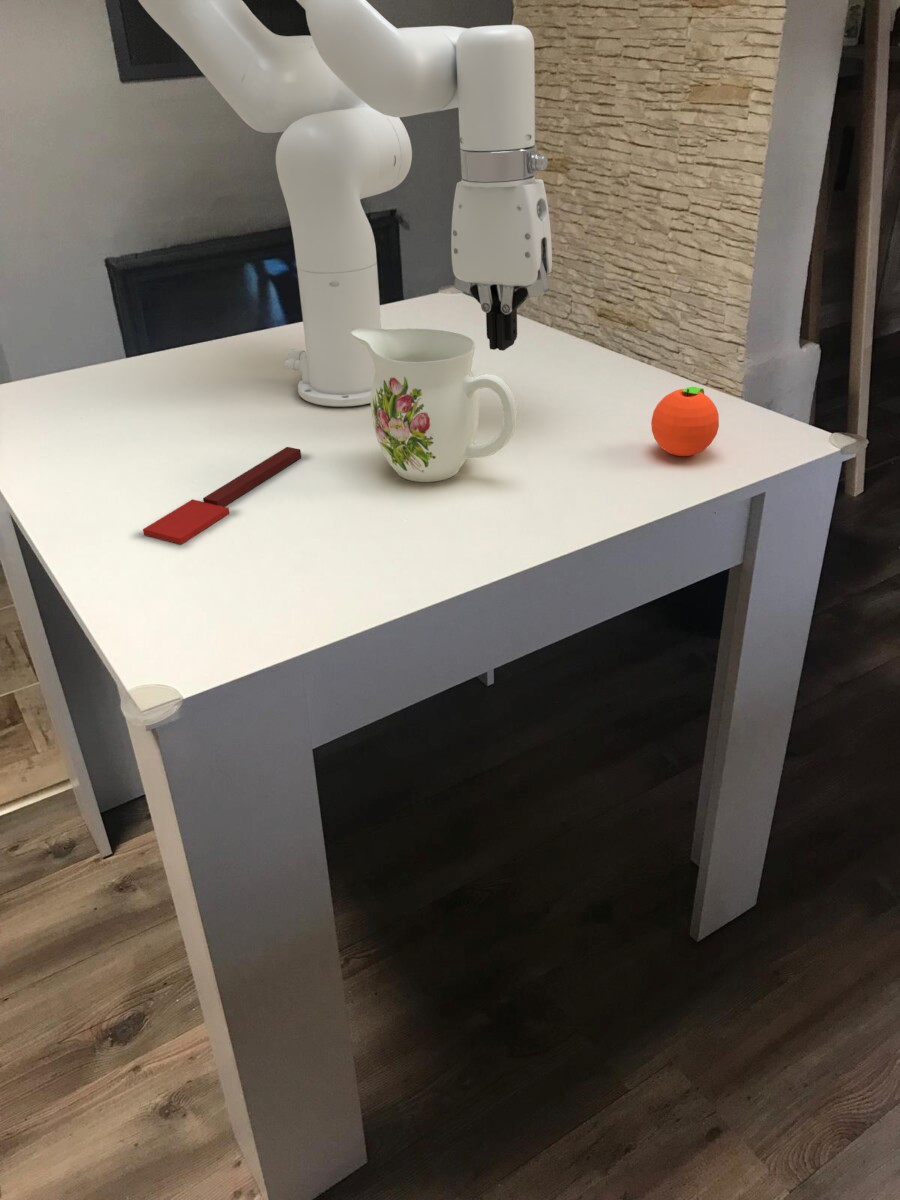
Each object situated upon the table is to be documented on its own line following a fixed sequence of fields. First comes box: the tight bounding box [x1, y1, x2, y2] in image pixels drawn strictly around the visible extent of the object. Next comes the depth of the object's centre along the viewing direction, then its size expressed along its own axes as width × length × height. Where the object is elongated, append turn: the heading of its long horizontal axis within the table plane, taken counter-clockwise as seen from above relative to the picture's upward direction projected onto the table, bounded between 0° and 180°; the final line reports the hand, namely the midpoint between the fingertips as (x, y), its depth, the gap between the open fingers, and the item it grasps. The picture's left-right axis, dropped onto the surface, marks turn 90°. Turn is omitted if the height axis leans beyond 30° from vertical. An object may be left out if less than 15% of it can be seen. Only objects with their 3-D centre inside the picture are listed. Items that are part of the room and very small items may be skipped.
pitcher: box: [351, 328, 517, 483], centre depth 97 cm, size 11×18×14 cm, turn 63°
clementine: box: [650, 386, 720, 457], centre depth 101 cm, size 8×7×7 cm
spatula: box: [142, 446, 302, 545], centre depth 97 cm, size 5×21×1 cm, turn 152°
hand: (502, 346), depth 107 cm, fingers closed
